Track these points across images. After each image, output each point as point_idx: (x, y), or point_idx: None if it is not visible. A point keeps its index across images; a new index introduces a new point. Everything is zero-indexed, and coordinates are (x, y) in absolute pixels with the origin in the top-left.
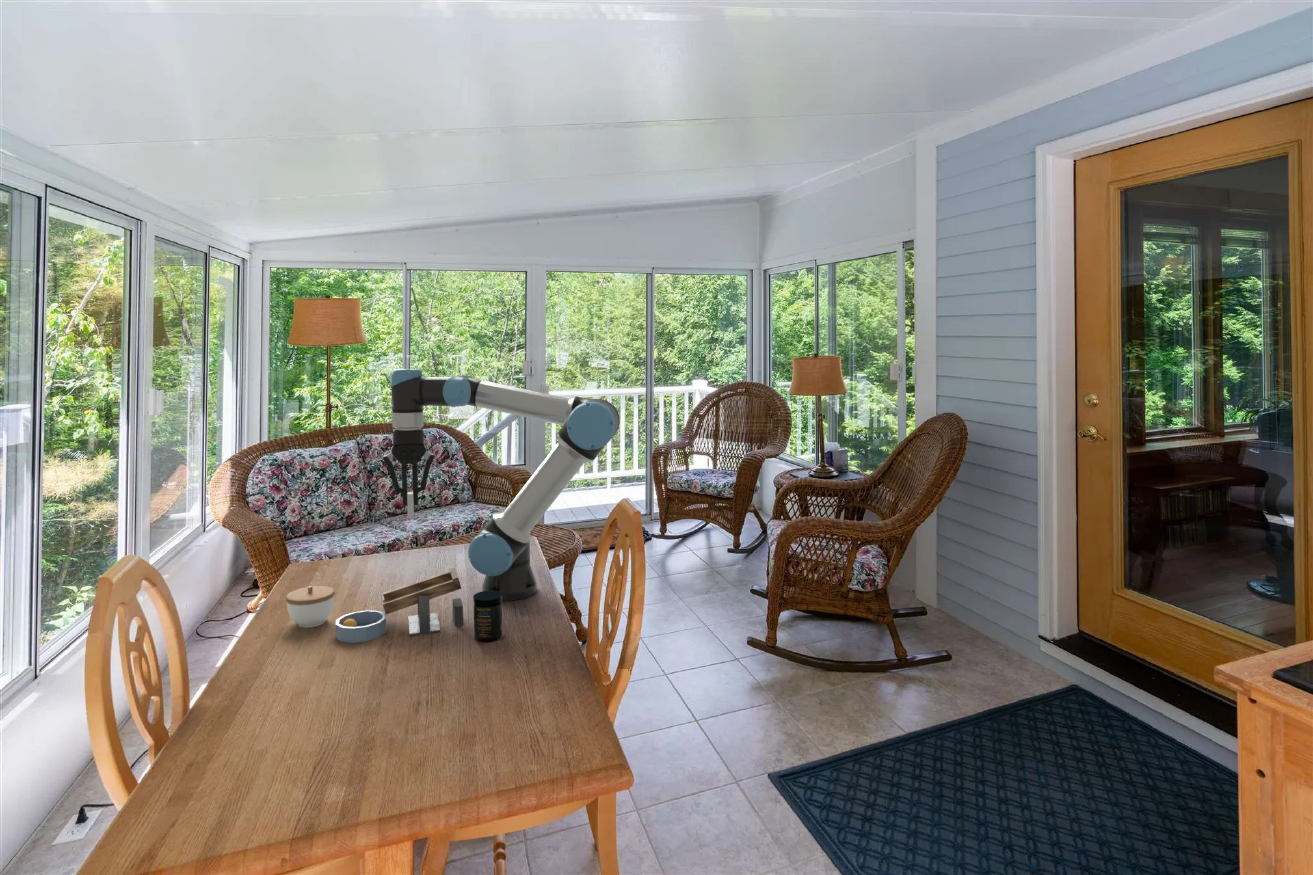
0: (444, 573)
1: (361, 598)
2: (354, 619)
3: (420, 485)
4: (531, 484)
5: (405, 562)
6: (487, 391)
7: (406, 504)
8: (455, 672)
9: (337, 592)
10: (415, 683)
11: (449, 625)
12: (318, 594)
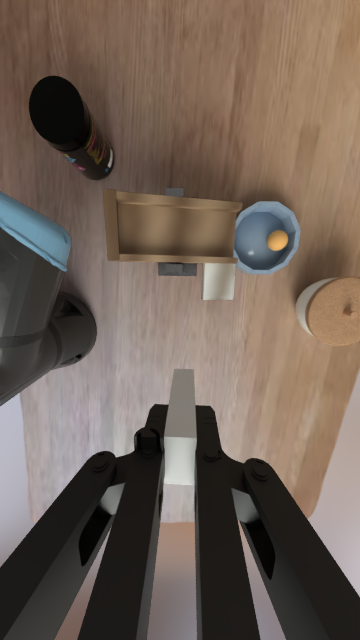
0: (131, 258)
1: (248, 372)
2: (268, 268)
3: (110, 513)
4: None
5: None
6: None
7: (198, 408)
8: (146, 35)
9: (275, 404)
10: (201, 13)
11: None
12: (335, 297)
